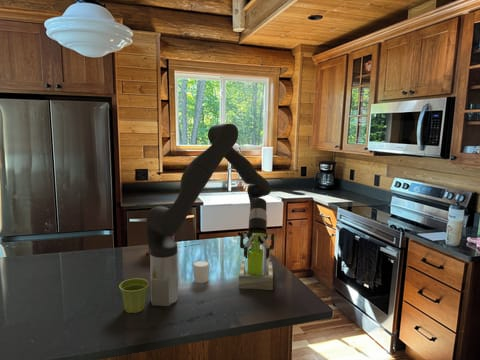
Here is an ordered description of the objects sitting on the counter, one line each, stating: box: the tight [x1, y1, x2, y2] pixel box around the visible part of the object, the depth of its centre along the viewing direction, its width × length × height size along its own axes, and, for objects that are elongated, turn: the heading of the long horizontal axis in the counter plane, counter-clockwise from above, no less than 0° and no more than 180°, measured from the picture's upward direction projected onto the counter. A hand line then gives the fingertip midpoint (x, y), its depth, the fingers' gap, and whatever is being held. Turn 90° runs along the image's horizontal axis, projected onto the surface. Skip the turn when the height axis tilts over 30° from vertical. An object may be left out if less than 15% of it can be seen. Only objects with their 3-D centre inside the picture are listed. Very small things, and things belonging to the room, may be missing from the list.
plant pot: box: [118, 277, 150, 314], centre depth 111 cm, size 9×9×9 cm
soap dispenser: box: [247, 233, 266, 275], centre depth 132 cm, size 6×7×20 cm
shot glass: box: [192, 260, 211, 284], centre depth 134 cm, size 7×7×7 cm
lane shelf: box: [238, 260, 274, 291], centre depth 136 cm, size 18×13×5 cm
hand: (256, 258), depth 131 cm, fingers open, 7 cm apart
